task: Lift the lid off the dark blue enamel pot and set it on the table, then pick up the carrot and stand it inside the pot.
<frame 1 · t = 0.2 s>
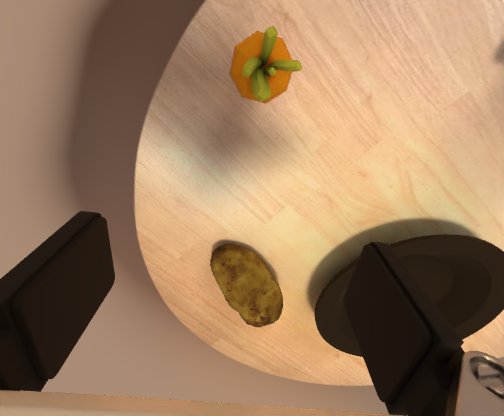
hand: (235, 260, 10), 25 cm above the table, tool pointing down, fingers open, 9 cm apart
carrot: (258, 67, 29), on the table
potato: (248, 265, 43), on the table
plate: (393, 278, 44), on the table
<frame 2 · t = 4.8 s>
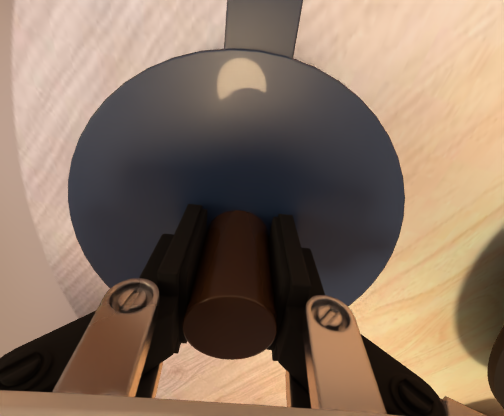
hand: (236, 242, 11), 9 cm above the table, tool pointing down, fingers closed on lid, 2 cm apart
lid: (238, 229, 12), point 9 cm above the table, touching gripper, pot
pot: (243, 164, 19), on the table
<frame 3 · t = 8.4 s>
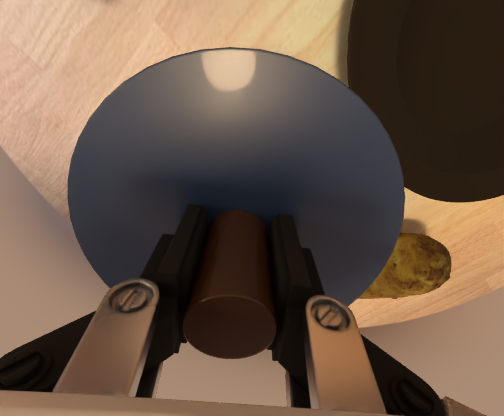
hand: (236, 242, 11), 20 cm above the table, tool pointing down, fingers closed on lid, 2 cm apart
potato: (372, 248, 37), on the table
lid: (238, 228, 12), point 20 cm above the table, touching gripper
plate: (458, 44, 25), on the table
when the fingers open (2 cm above the table, at t = 12.1 s): lid stays where it is, point 1 cm above the table.
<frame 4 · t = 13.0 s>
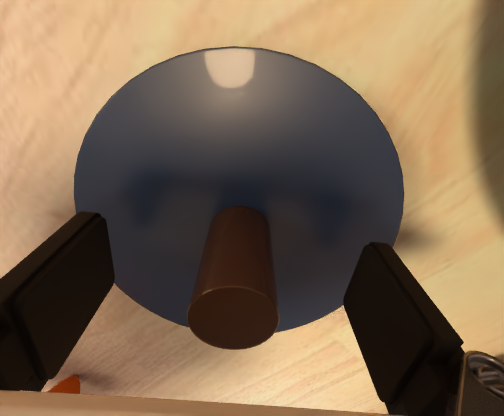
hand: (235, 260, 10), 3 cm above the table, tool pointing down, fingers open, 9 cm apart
carrot: (77, 373, 19), on the table
lid: (240, 224, 12), point 1 cm above the table
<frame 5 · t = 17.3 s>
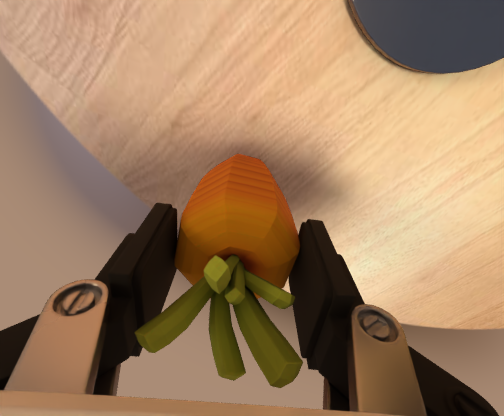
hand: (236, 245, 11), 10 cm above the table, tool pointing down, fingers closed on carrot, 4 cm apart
carrot: (243, 163, 19), on the table, touching gripper
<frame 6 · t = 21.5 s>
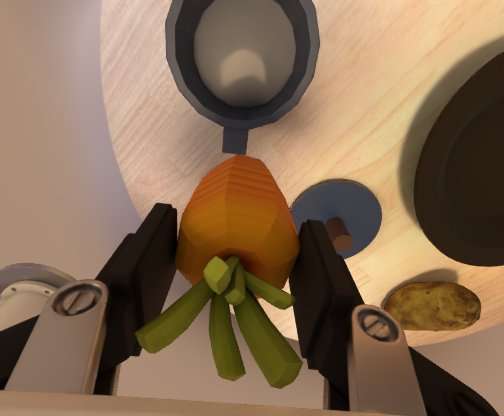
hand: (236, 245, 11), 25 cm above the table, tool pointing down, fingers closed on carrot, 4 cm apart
carrot: (243, 163, 19), point 15 cm above the table, touching gripper
potato: (414, 289, 47), on the table
lid: (332, 222, 39), point 1 cm above the table
pot: (244, 54, 30), on the table
plate: (487, 156, 35), on the table
when the fingers open (10 cm above the table, at t = 25.9 s): carrot stays where it is, resting on pot.
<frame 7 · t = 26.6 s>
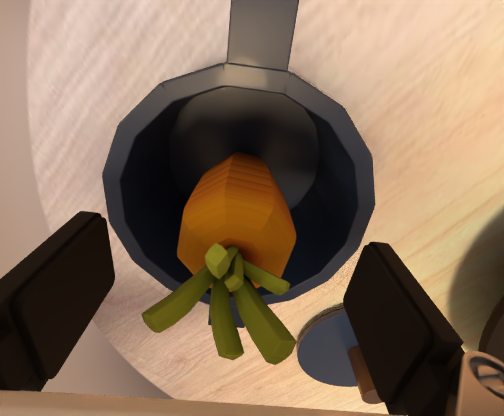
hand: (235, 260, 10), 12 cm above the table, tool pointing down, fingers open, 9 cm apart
carrot: (243, 161, 20), resting on pot
lid: (357, 347, 30), point 1 cm above the table
pot: (244, 159, 20), on the table
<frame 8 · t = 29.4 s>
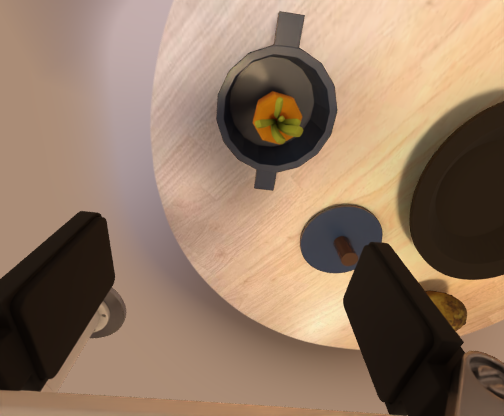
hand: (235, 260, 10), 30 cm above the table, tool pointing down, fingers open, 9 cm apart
carrot: (270, 105, 36), resting on pot
potato: (410, 296, 53), on the table
lid: (340, 240, 46), point 1 cm above the table
pot: (271, 104, 36), on the table
plate: (472, 186, 42), on the table
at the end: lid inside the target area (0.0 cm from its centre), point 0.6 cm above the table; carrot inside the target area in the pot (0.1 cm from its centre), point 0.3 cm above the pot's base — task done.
